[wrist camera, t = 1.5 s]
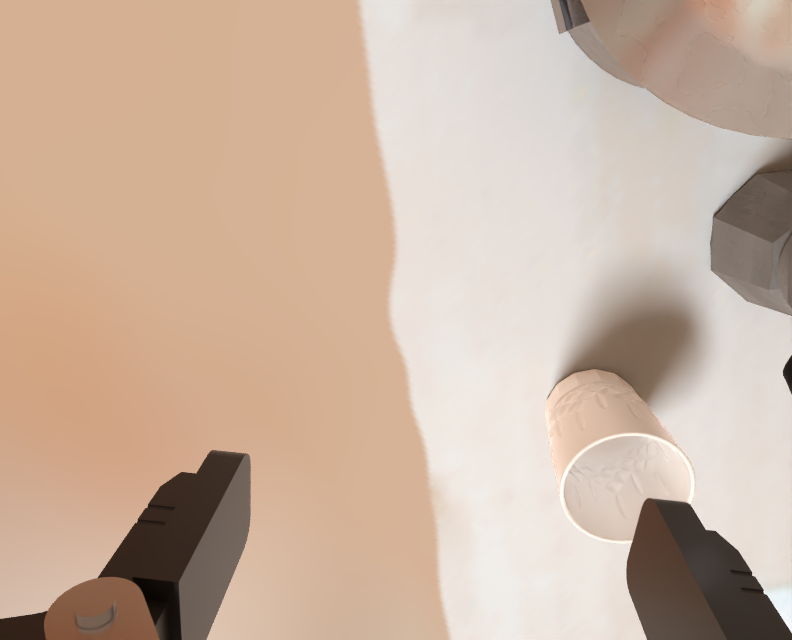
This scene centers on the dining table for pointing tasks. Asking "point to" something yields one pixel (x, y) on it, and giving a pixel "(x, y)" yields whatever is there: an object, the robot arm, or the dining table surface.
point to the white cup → (611, 455)
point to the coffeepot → (758, 244)
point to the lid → (705, 56)
